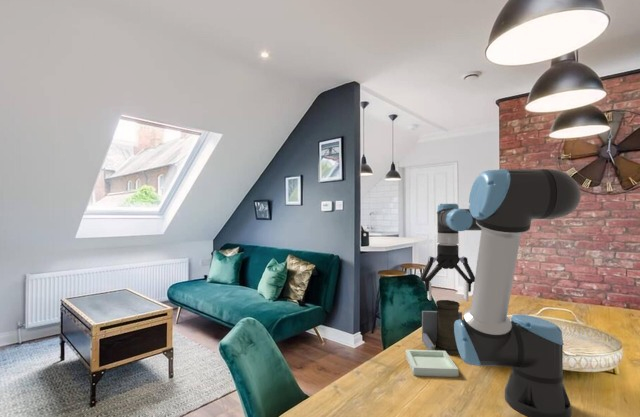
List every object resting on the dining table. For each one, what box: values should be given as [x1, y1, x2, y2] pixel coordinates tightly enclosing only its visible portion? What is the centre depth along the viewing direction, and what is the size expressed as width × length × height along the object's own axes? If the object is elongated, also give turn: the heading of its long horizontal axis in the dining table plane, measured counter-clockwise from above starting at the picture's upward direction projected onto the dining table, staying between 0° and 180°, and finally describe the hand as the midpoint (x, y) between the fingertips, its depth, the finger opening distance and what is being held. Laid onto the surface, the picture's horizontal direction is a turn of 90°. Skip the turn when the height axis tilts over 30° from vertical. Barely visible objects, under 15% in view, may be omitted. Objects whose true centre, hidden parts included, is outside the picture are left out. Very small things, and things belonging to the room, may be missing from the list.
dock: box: [421, 310, 463, 350], centre depth 128 cm, size 15×15×12 cm
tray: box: [405, 348, 460, 378], centre depth 113 cm, size 14×14×2 cm
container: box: [434, 299, 461, 356], centre depth 127 cm, size 9×9×18 cm
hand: (447, 300), depth 127 cm, fingers open, 13 cm apart
